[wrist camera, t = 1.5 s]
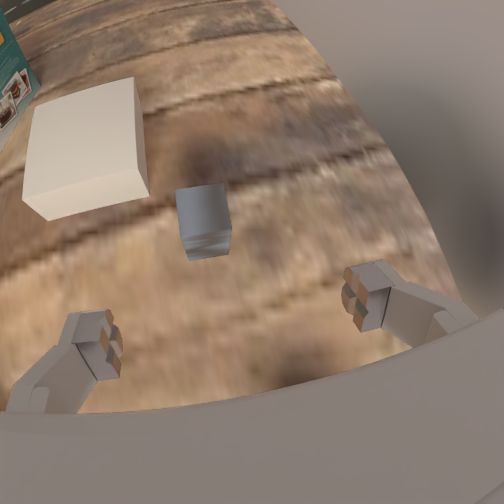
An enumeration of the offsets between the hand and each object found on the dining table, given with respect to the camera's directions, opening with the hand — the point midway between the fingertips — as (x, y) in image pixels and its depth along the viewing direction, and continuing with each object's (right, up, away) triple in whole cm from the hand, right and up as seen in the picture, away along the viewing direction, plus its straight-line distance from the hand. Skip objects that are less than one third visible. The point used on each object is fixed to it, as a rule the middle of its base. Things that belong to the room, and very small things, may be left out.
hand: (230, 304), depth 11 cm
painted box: (-23, +15, +32) cm, 42 cm away
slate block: (-5, +3, +30) cm, 31 cm away
